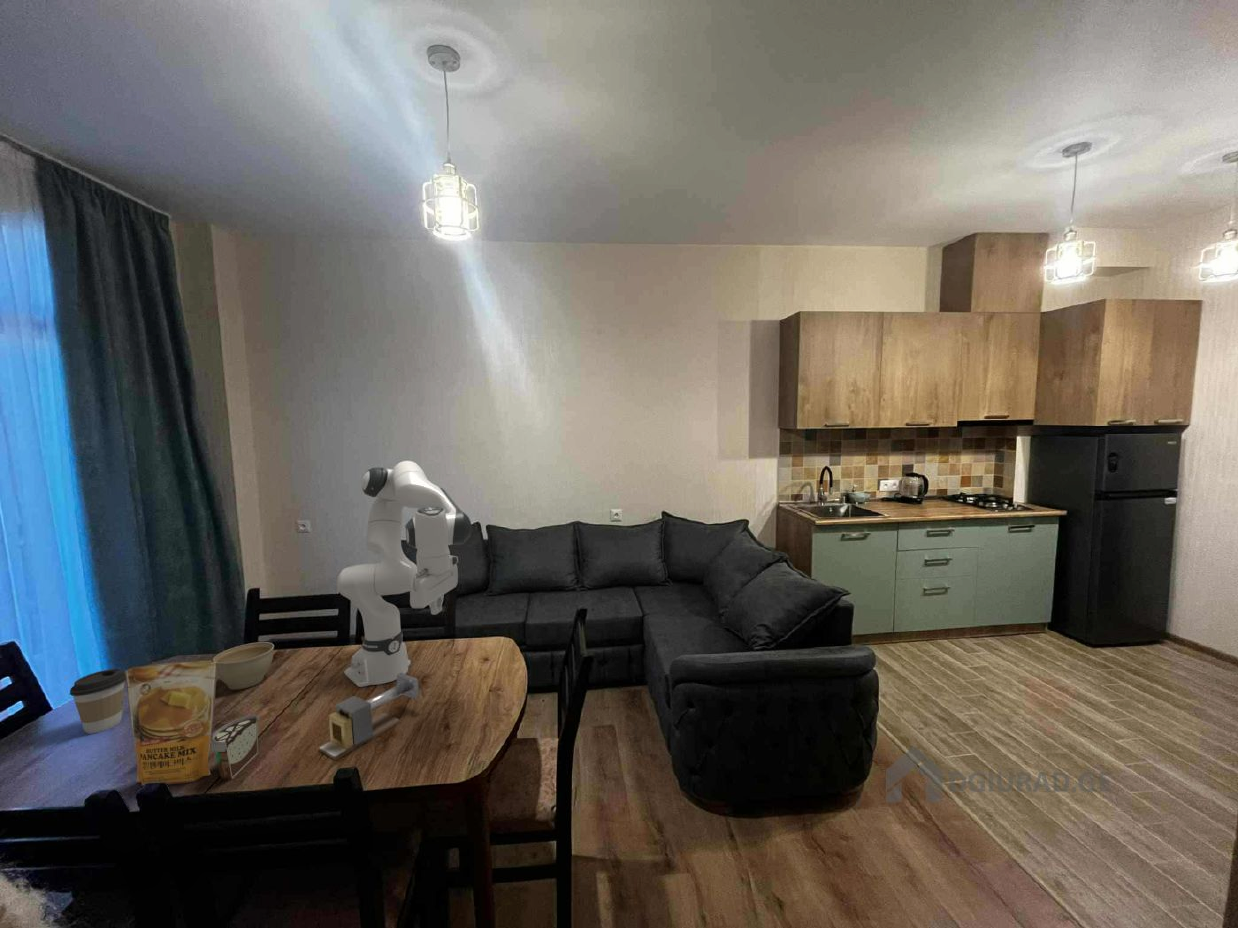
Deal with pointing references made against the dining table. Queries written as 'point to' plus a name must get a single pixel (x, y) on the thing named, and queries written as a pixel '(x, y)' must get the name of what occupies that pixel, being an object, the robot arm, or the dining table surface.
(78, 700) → the coffee cup
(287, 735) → the dining table surface
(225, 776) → the food container
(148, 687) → the pancake mix bag
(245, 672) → the planter bowl
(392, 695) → the shaft
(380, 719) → the rig base
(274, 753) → the dining table surface
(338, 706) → the block
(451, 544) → the robot arm
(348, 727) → the spacer
